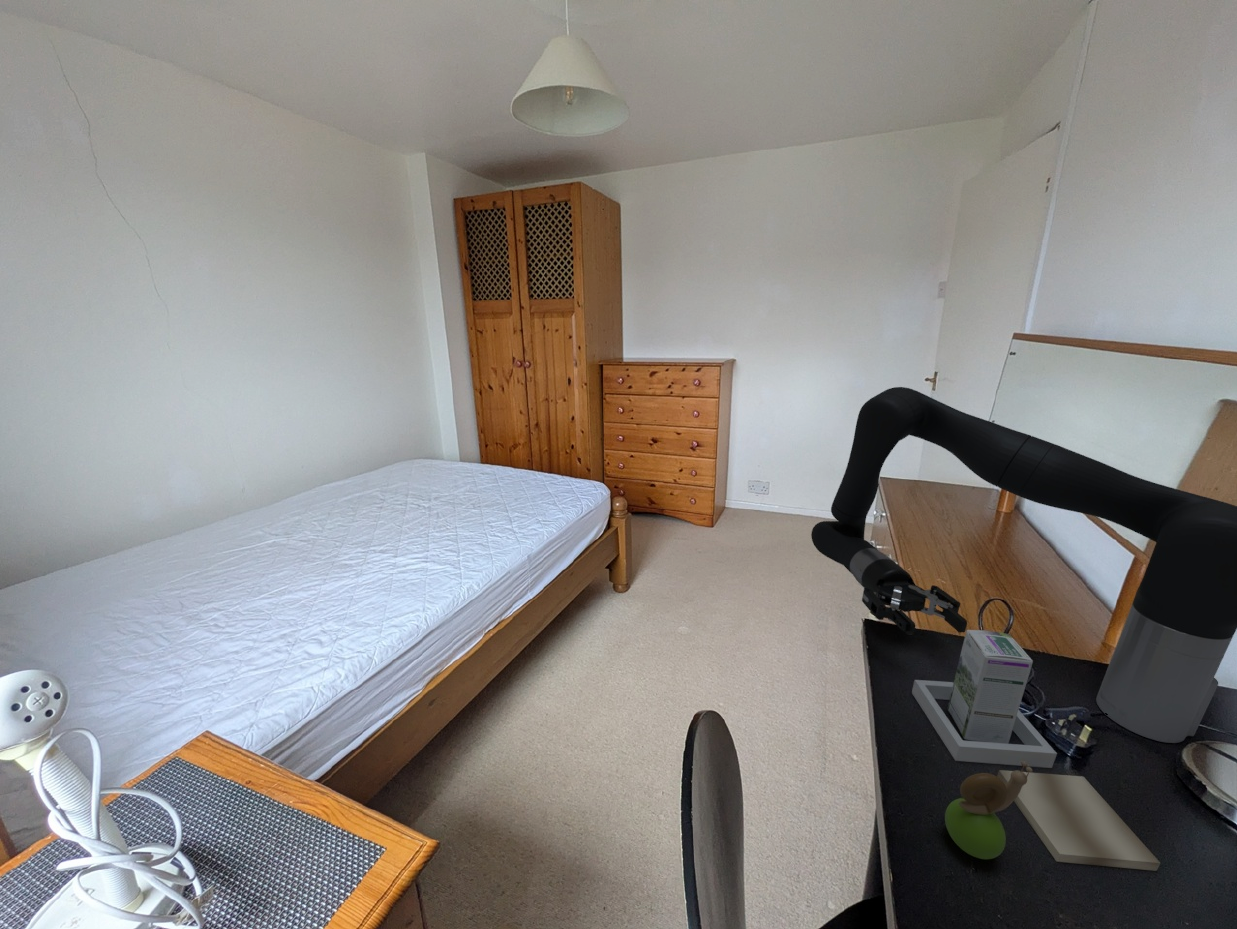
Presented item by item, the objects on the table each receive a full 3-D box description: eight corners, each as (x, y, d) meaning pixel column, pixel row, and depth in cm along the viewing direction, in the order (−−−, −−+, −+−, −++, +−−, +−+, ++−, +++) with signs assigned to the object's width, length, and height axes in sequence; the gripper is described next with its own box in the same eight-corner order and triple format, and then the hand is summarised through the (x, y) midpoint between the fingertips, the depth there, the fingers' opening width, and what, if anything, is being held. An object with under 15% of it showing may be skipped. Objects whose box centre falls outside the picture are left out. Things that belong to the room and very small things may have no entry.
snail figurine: (1021, 872, 52) (1051, 789, 48) (960, 871, 52) (986, 788, 48) (984, 820, 57) (1010, 742, 53) (930, 820, 57) (951, 742, 53)
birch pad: (1080, 783, 61) (1083, 776, 61) (1156, 870, 52) (1160, 862, 51) (996, 776, 62) (999, 769, 62) (1056, 861, 52) (1059, 853, 52)
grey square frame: (992, 697, 74) (996, 684, 74) (1051, 768, 63) (1057, 753, 62) (911, 692, 76) (914, 679, 75) (955, 760, 64) (959, 746, 63)
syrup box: (1009, 747, 66) (1037, 660, 62) (961, 740, 67) (986, 654, 63) (988, 714, 71) (1012, 632, 67) (944, 708, 73) (965, 627, 68)
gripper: (846, 559, 90) (899, 610, 75) (919, 556, 91) (986, 607, 76) (840, 593, 93) (891, 650, 77) (911, 591, 93) (975, 646, 78)
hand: (938, 629), depth 76 cm, fingers open, 8 cm apart
